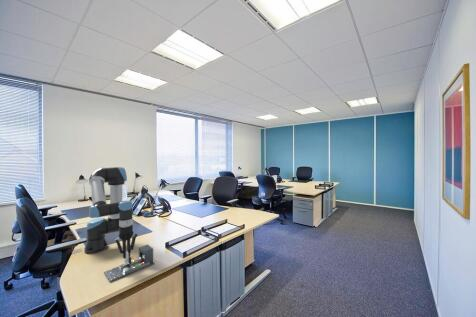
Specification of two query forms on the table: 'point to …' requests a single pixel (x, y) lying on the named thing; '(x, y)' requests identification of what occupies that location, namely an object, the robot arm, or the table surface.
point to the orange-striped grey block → (135, 260)
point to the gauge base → (126, 269)
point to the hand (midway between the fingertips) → (126, 262)
